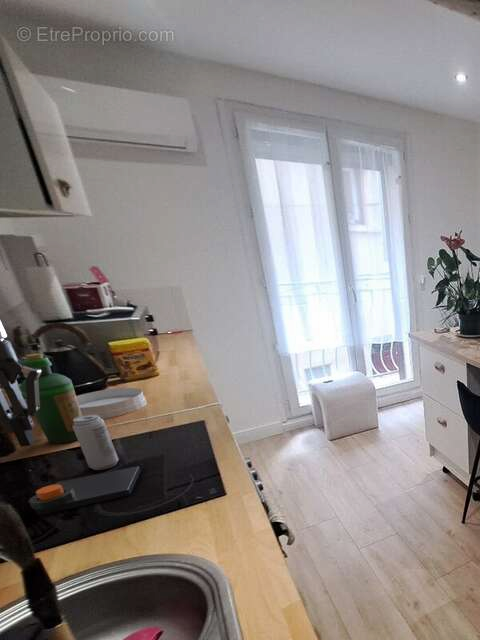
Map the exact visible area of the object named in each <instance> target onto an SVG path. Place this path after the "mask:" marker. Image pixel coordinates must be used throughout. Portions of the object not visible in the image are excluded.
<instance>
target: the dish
mask: <svg viewBox="0 0 480 640" xmlns="http://www.w3.org/2000/svg"><path fill="white" fill-rule="evenodd" d="M76 397H77V401H78V404H79V407H80V410H81V414H82V416H85V415H93V414H95V415H99V417H100V418H101V419H103V420H105V419H110V418H116V417H120V416H123V415H127V414H130V413H134V412H137V411H139V410H140V409H142V408H144V407H145V406H147V400H146V397H145V395H144V392H143V390H142V389H140V388H135V387H121V388H110V389H102V390H96V391H92V392H86V393H82V394H78V395H76Z"/></svg>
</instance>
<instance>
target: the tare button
mask: <svg viewBox="0 0 480 640" xmlns="http://www.w3.org/2000/svg"><path fill="white" fill-rule="evenodd" d="M62 494H64V491H63V489H62V486H61V485H59V484H56V483H55V484H50V485H46V486H44V487H40V488H39V489H37V490H36V491H35V495H37V496H38V498H39V500H48V499H52V498H55V497H58V496H60V495H62Z"/></svg>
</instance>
